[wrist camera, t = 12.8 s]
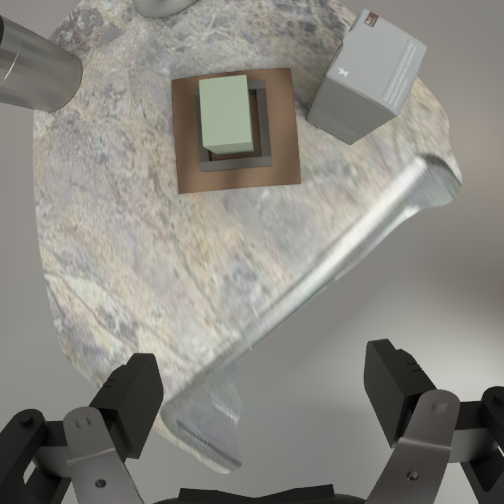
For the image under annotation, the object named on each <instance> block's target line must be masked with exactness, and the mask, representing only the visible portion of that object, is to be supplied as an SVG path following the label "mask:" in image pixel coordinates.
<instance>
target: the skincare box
mask: <svg viewBox="0 0 504 504" xmlns="http://www.w3.org/2000/svg"><path fill="white" fill-rule="evenodd" d="M427 48H428V47H427V46H425V45H424V44H423V43H421V42H420V41H418V40H417V39H415V38H414V37H412V36H411V35H409V34H407V33H406V32H404V31H403V30H401V29H400V28H398V27H396V26H395V25H393V24H391V23H390V22H388V21H386V20H385V19H383V18H381V17H380V16H378V15H376V14H374V13H372V12H371V11H369V10H367V9H365V8H364V9H362V11H361V12H360V14H359V16H358V17H357V19H356V20H355V22H354V24H353V25H352V27H351V28H350V30H349V32H348V33H347V34H346V35H345V36H344V39H343V42H342V43H341V45H340V47H339V48H338V50H337V52H336V54H335V55H334V57H333V59H332V61H331V63H330V66H329V68H328V70H327V72H326V74H325V76H324V78H323V80H322V83H321V85H320V87H319V89H318V92H317V94H316V96H315V98H314V100H313V103H312V105H311V108H310V110H309V112H308V114H307V117H306V119H305V120H306V121H307V122H309V123H311V124H313V125H315V126H317V127H319V128H320V129H322V130H324V131H326V132H328V133H330V134H331V135H333V136H335V137H337V138H338V139H340V140H342V141H344V142H345V143H347V144H349V145H352V144H353V143H354V142H356V141H358V140H359V139H361V138H362V137H364V136H365V135H367V134H369V133H370V132H372V131H373V130H375V129H377V128H378V127H380V126H381V125H383V124H385V123H386V122H388V121H389V120H391V119H393V118H394V117H396V116H398V115H399V112H400V110H401V108H402V106H403V104H404V102H405V100H406V98H407V96H408V94H409V91H410V89H411V87H412V85H413V83H414V80H415V78H416V76H417V74H418V71H419V69H420V66H421V64H422V61H423V59H424V56H425V54H426V51H427Z"/></svg>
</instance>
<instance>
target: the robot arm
mask: <svg viewBox="0 0 504 504" xmlns="http://www.w3.org/2000/svg"><path fill="white" fill-rule="evenodd" d="M81 76H82V66H81V63H80V61H79V59H78V58H77V57H76V56H75V55H73V54H72V53H70V52H68V51H66V50H65V49H63V48H61V47H60V46H58V45H56V44H54V43H52V42H51V41H49V40H47V39H45V38H43V37H41V36H40V35H38V34H36V33H34V32H32V31H30V30H28V29H26V28H24V27H22V26H20V25H19V24H17V23H15V22H12V21H11V20H8V19H7V18H5V17H2V16H1V15H0V102H3V103H7V104H12V105H17V106H21V107H26V108H30V109H37V110H41V111H46V112H53V111H56V110H58V109H60V108H62V107H63V106H65V105H66V104H67V103H68V102H69V101H70V100H71V99H72V97H73V96H74V94H75V93H76V91H77V89H78V87H79V84H80V81H81ZM364 387H365V390H366V393H367V395H368V397H369V399H370V402H371V404H372V406H373V408H374V411H375V413H376V415H377V418H378V420H379V422H380V424H381V427H382V429H383V431H384V434H385V436H386V438H387V441H388V443H389V445H390V448H391V449H393V448H395V449H394V451H393V453H392V455H391V457H390V459H389V461H388V462H387V464H386V466H385V468H384V470H383V472H382V474H381V476H380V477H379V479H378V481H377V482H376V484H375V486H374V488H373V490H372V491H371V493H370V495H369V496H368V498H367V500H365V499H362V498H359V497H355V496H351V495H345V494H334V489H333V485H332V484H329V485H322V486H314V487H304V488H294V489H291V490H287V491H283V492H280V493H276V494H271V495H268V496H263V497H258V498H251V497H246V496H241V495H236V494H231V493H226V492H222V491H218V490H200V489H187V488H181V489H180V493H179V497H178V498H172V499H166V500H163V501H159V502H156V503H153V504H433V503H434V501H435V498H436V496H437V493H438V490H439V487H440V485H441V482H442V479H443V476H444V473H445V470H446V467H447V463H457V462H460V464H461V466H462V468H463V470H464V473H465V474H466V477H467V479H468V481H469V483H470V485H471V487H472V489H473V492H474V494H475V496H476V498H477V500H478V503H479V504H504V457H503V456H502V453H501V452H500V450H499V449H498V446H499V447H500V448H501V449H502V451H503V453H504V387H502V386H494V387H491V388H488V389H487V390H486V391H485V392H484V393H483V396H482V398H481V401H469V402H460V400H459V398H458V397H457V396H456V395H454V394H453V393H452V392H449V391H446V390H441V389H436V387H435V385H434V384H433V383H432V382H431V380H430V379H429V377H428V376H427V375H426V374H425V373H424V371H423V370H422V368H421V367H420V366H419V364H417V362H416V361H415V359H414V358H413V357H412V355H411V354H409V353H407V352H405V351H404V350H402V349H398V350H396V349H395V348H394V346H393V345H392V344H391V342H390V341H389V340H388V339H380V340H374V341H368V343H367V347H366V358H365V368H364ZM163 394H164V392H163V385H162V381H161V377H160V373H159V369H158V365H157V361H156V358H155V356H154V354H151V353H134V354H133V355H132V357H131V358H130V359H129V361H128V362H127V364H126V365H121V366H120V367H119V368H117V369H116V370H114V371H113V372H112V373H111V375H110V376H109V378H108V379H107V381H106V382H105V383H104V385H103V387H101V389H100V390H99V392H98V393H97V395H96V396H95V398H94V399H93V400H92V402H91V403H90V405H89V406H88V407H79V408H76V409H74V410H72V411H70V412H69V413H68V414H67V415H66V416H65V417H64V419H63V421H46V420H45V418H44V416H43V414H42V413H41V412H40V411H38V410H36V409H26V410H23V411H21V412H19V413H17V414H16V415H15V416H14V417H13V418H12V419H11V420H10V421H9V423H8V424H7V425H6V426H5V428H4V429H3V430H2V432H1V433H0V504H61V502H62V500H63V498H64V495H65V493H66V491H67V489H68V487H69V485H70V483H71V480H72V483H73V487H74V490H75V494H76V497H77V500H78V503H79V504H145V502H144V500H143V498H142V496H141V495H140V493H139V491H138V489H137V487H136V485H135V484H134V482H133V480H132V478H131V476H130V474H129V472H128V470H127V468H126V466H125V464H124V462H125V460H126V458H134V459H139V457H140V454H141V452H142V449H143V447H144V444H145V442H146V440H147V437H148V435H149V432H150V430H151V427H152V425H153V423H154V420H155V418H156V415H157V413H158V411H159V408H160V406H161V403H162V401H163ZM31 460H32V461H33V463H34V464H35V466H36V467H35V469H34V471H33V473H32V474H31V476H30V478H29V479H28V481H27V483H26V485H25V483H24V479H23V475H24V472H25V470H26V469H27V467H28V465H29V464H30V462H31Z"/></svg>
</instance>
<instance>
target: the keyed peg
mask: <svg viewBox="0 0 504 504" xmlns="http://www.w3.org/2000/svg"><path fill="white" fill-rule="evenodd" d="M199 89H200V106H201V122H202V137H203V147H205V148H207V149H208V150H210V151H212V152H214V153H215V154H217V155H227V154H239V153H251V152H254V145H253V133H252V120H251V107H250V98H249V91H248V84H247V77H246V75H239V76H229V77H220V78H211V79H203V80H199Z"/></svg>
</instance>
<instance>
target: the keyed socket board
mask: <svg viewBox="0 0 504 504" xmlns="http://www.w3.org/2000/svg"><path fill="white" fill-rule="evenodd" d="M239 75H246V77H247V84H248V91H249V98H250V107H251V120H252V133H253V145H254V152H251V153H239V154H227V155H217V154H215V153H214V152H212V151H210V150H208V149H207V148H205V147H203V137H202V122H201V106H200V89H199V80H203V79H211V78H220V77H229V76H239ZM172 102H173V121H174V137H175V151H176V164H177V176H178V187H179V194H185V193H194V192H204V191H214V190H225V189H236V188H248V187H261V186H276V185H292V184H301V176H300V162H299V150H298V138H297V127H296V116H295V106H294V96H293V87H292V78H291V69H290V68H277V69H259V70H246V71H235V72H225V73H217V74H209V75H201V76H195V77H188V78H182V79H176V80H172Z"/></svg>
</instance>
